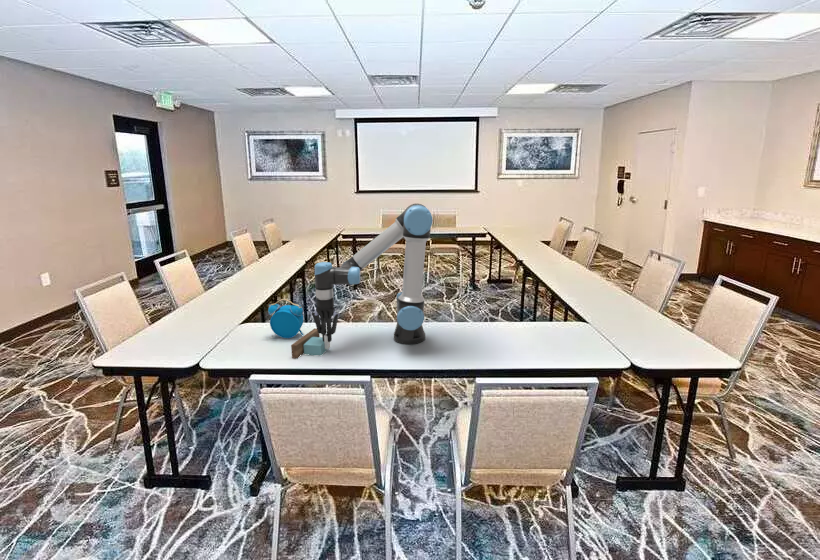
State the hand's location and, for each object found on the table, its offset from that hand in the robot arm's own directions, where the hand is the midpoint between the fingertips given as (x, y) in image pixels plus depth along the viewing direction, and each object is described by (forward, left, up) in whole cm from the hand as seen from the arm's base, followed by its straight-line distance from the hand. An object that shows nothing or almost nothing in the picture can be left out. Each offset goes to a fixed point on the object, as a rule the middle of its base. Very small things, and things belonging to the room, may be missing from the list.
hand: (327, 348), depth 212 cm
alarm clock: (+26, -12, -2) cm, 29 cm away
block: (+5, +1, -2) cm, 5 cm away
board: (+10, 0, -1) cm, 11 cm away
